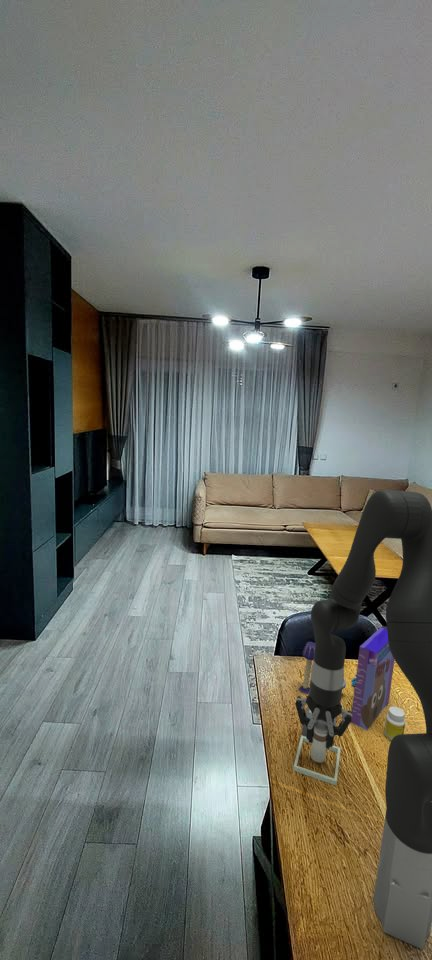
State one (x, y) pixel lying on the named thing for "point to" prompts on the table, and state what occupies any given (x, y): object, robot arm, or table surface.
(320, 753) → the cylinder
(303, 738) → the pale green flat frame
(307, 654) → the toy lamp
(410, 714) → the table surface
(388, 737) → the supplement bottle
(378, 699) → the cereal box
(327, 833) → the table surface
